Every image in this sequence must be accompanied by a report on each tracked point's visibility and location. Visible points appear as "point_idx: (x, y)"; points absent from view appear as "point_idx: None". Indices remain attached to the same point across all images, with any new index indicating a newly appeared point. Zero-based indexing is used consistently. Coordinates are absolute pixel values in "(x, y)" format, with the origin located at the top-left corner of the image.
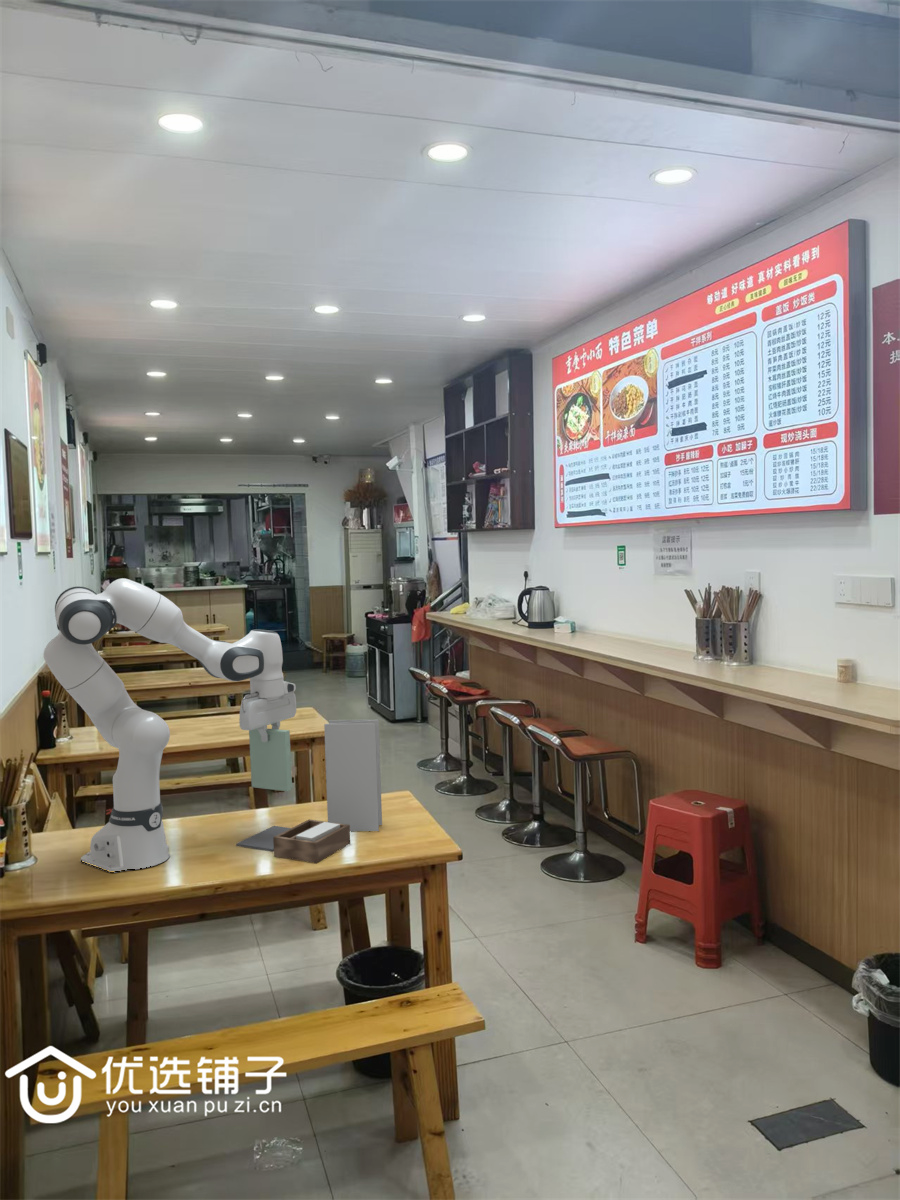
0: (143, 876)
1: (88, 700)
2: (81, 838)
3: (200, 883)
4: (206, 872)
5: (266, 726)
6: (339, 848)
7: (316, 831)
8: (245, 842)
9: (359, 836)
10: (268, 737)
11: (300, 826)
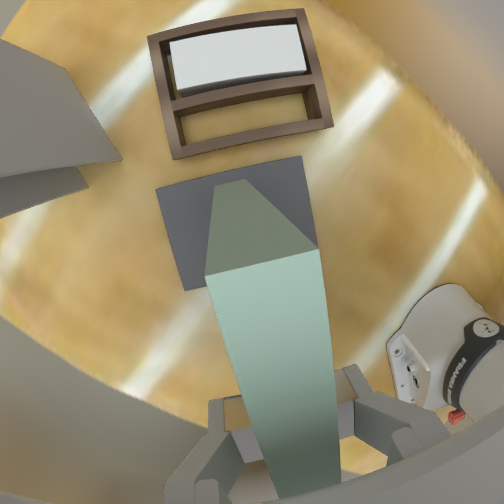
0: (476, 259)
1: None
2: None
3: (464, 152)
4: (436, 183)
5: (408, 451)
6: None
7: (251, 47)
8: None
9: (108, 73)
10: (337, 388)
11: (226, 136)
